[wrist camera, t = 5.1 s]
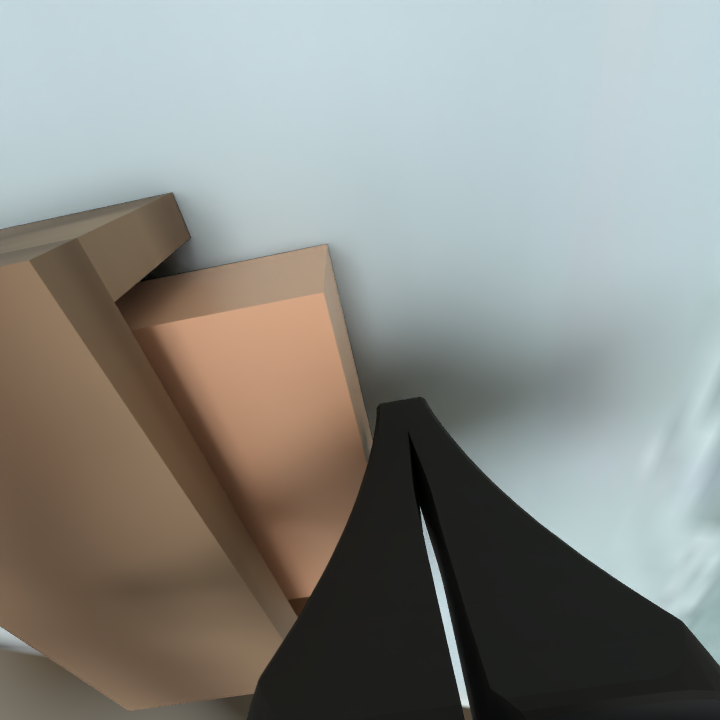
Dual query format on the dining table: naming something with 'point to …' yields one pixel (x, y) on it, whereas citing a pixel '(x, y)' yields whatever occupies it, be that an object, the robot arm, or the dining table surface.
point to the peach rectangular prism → (265, 396)
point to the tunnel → (116, 481)
